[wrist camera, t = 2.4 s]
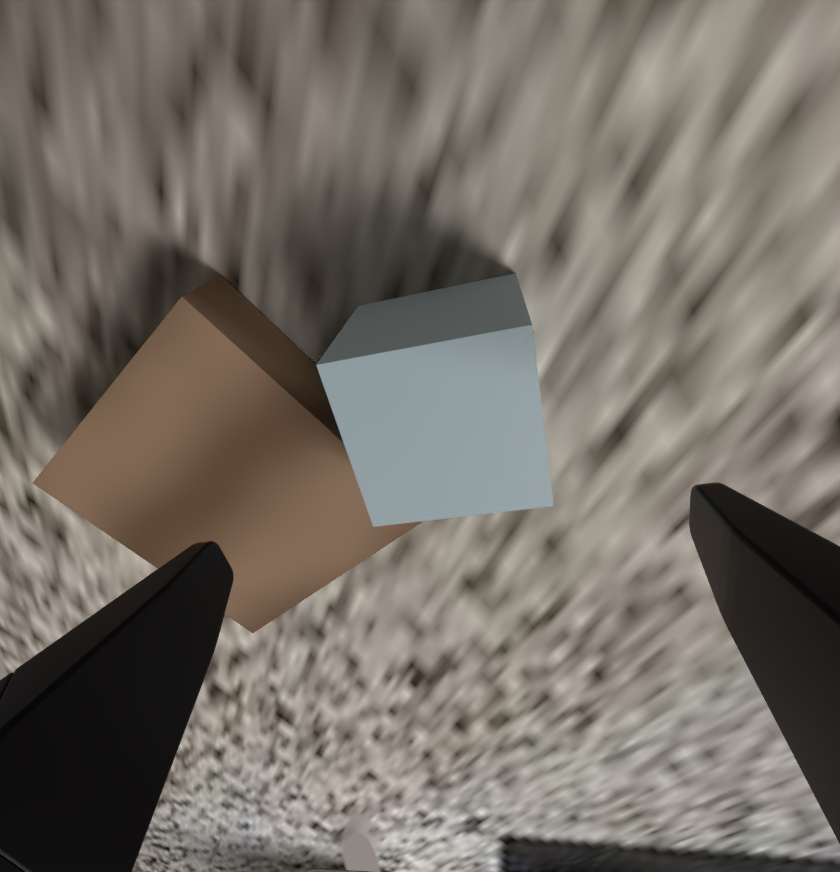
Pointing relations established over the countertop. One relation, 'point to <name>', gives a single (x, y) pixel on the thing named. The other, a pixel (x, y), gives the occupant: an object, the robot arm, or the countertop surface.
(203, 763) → the countertop surface
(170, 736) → the robot arm
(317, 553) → the board
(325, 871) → the supplement box
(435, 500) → the block
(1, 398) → the countertop surface
